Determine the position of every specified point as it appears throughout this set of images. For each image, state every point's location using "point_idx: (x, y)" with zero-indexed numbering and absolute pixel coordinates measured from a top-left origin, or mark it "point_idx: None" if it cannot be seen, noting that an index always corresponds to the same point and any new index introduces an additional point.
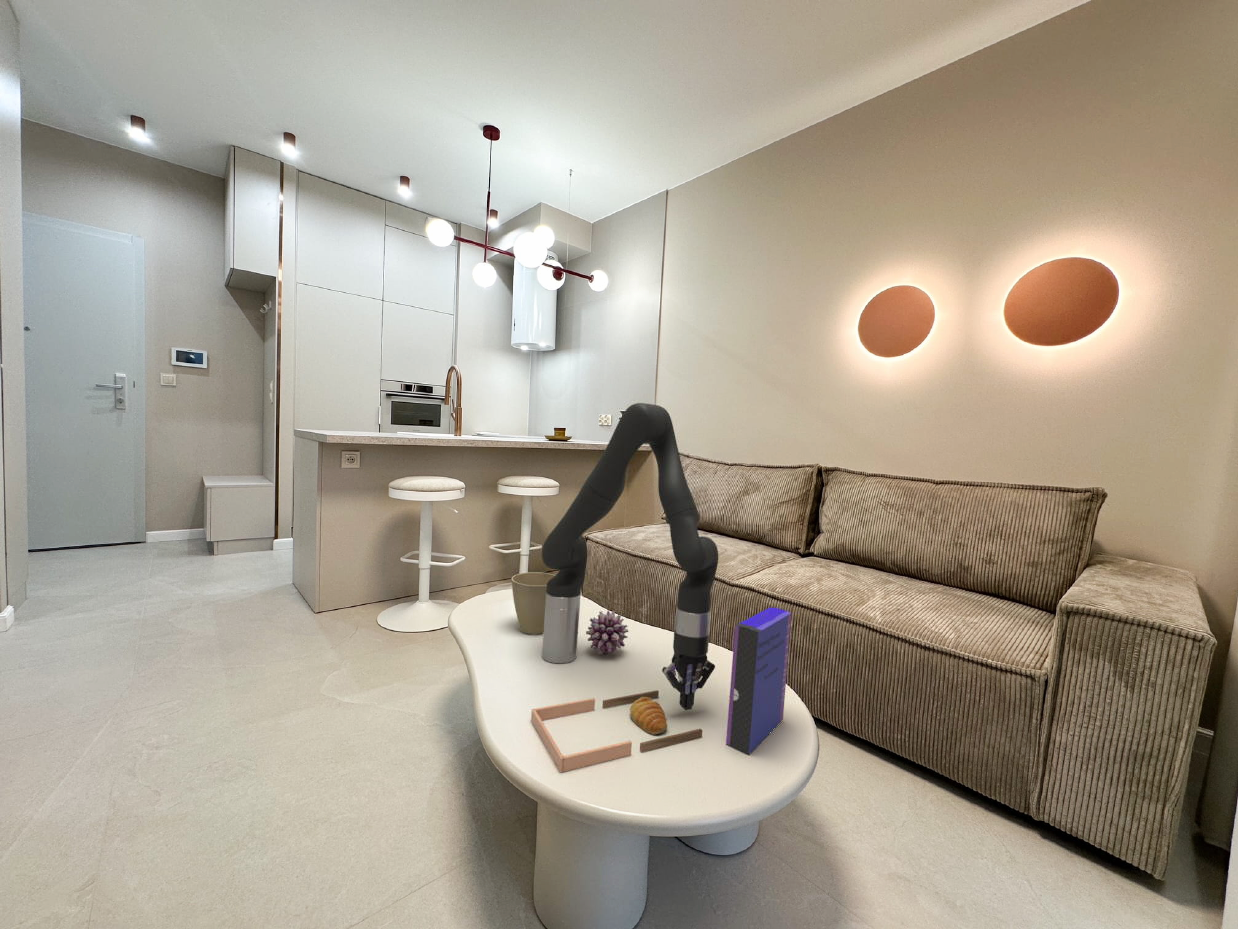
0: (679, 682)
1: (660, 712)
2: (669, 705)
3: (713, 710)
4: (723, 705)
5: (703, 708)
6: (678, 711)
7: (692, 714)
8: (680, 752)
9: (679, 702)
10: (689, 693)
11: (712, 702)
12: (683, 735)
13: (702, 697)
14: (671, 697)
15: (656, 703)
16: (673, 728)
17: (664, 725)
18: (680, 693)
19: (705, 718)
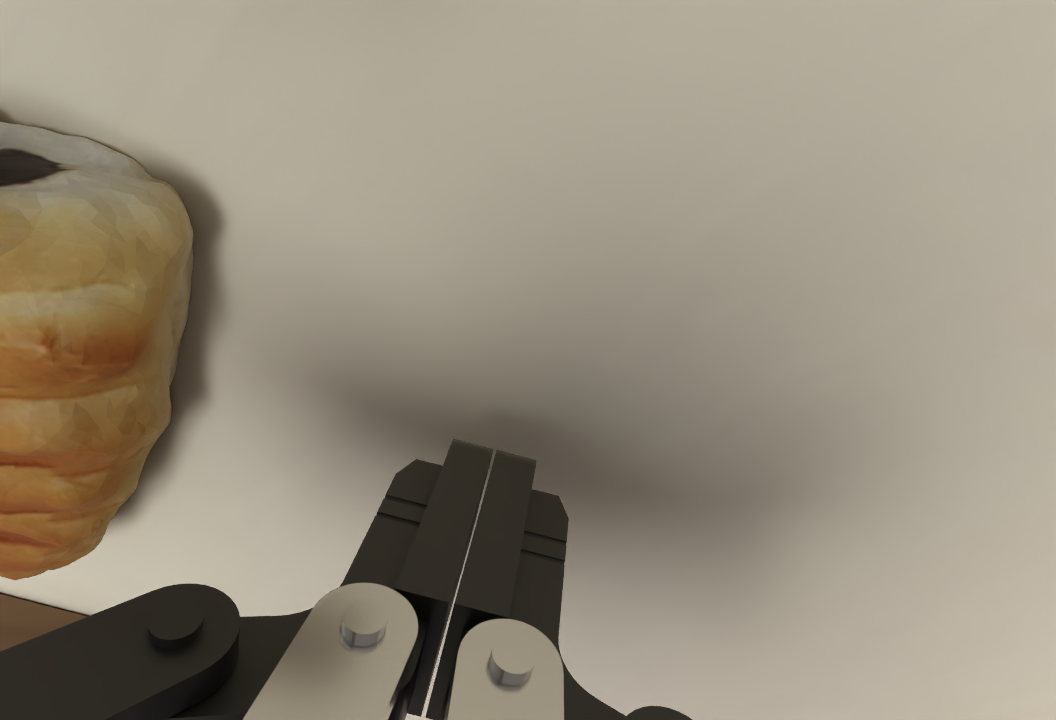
0: (262, 702)
1: (1, 509)
2: (470, 214)
3: (819, 566)
4: (1020, 575)
5: (769, 488)
6: (467, 369)
7: (556, 487)
8: None
9: (393, 479)
10: (414, 709)
11: (995, 476)
12: None
13: (1036, 334)
14: (668, 65)
15: (20, 376)
16: (213, 519)
17: (24, 576)
18: (350, 576)
19: (608, 592)
